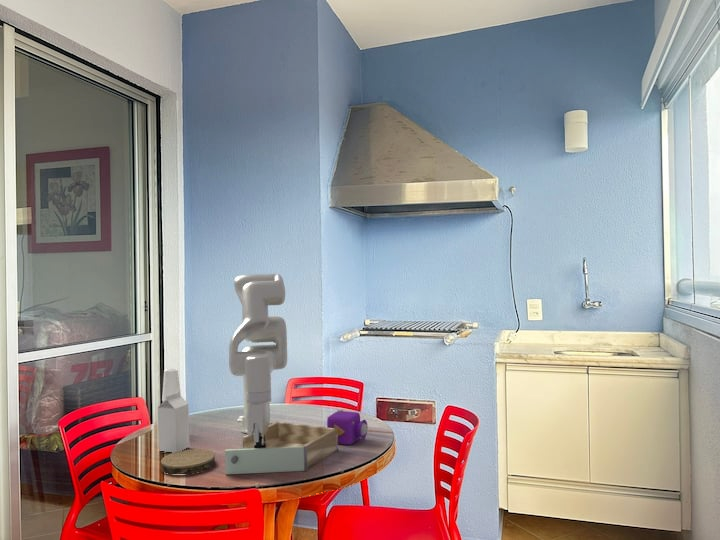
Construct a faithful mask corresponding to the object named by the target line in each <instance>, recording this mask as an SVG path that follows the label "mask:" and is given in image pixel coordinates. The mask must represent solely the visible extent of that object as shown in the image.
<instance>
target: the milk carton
mask: <svg viewBox="0 0 720 540" xmlns="http://www.w3.org/2000/svg"><path fill="white" fill-rule="evenodd" d="M180 392H181V391H180ZM180 392H176V393H174V394H171V395H168V396H166V398H165V399H164V402H162V403H161V404H160V405H159V406H158V407H157V427H158V428H157V429H158V430H157V433H158V434H157V435H158V452H159V451H165V452H164V453H166V452H173V453H174V452H178V451H181V450H184V449H185V450H187V449H188V448H190V420H189V419H190V417H189V403H188V401H186V399H185V398H184V397H183V396H182V394H181V395H180ZM186 448H187V449H186Z"/></svg>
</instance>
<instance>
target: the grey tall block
mask: <svg viewBox="0 0 720 540" xmlns="http://www.w3.org/2000/svg"><path fill="white" fill-rule="evenodd" d="M180 386H181V385H180V378H179V372H178V369H177V368H168V369H167V368H166V369H164V370H163V380H162V395H161V396H162V398H161V401H162V403H163V402H164V399H165V398H166V396H168V395H171V394H174V393H176V392H180V395H181V396H182V394H181V387H180Z"/></svg>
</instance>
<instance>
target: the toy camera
mask: <svg viewBox="0 0 720 540" xmlns="http://www.w3.org/2000/svg"><path fill="white" fill-rule="evenodd" d="M326 426H327V428H335V429H337V431H338V445H347V446H348V445H352V444H354V443H355V442H357V441H358V440H359V439H362V440H364V439H366V437H367V434H368V422H367V420H366V419H362V420H361V415H360V413H359V412H357V411H345V410H343V409H338V410H337V411H335V412H333V413H332V414H331V415H329V416H328V417H327V420H326Z"/></svg>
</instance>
